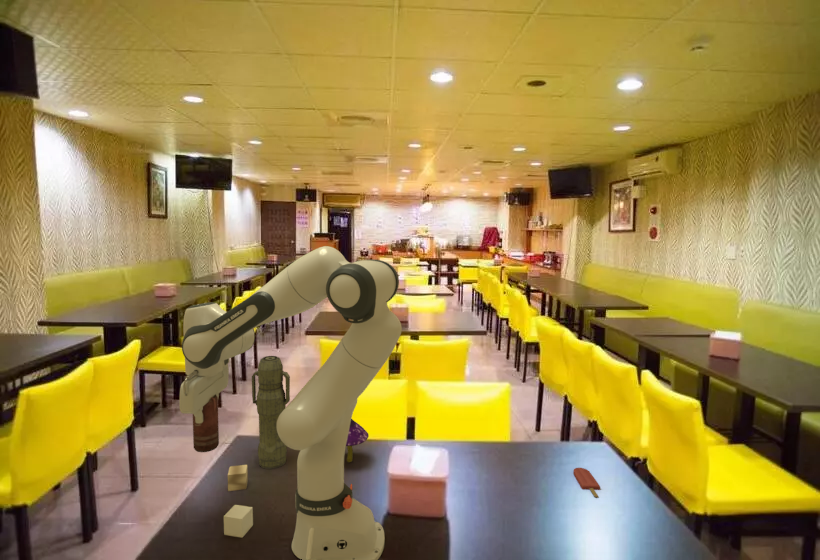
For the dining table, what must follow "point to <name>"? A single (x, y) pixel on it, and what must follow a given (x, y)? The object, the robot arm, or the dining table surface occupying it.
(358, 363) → the robot arm
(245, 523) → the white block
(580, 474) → the popsicle
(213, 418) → the can
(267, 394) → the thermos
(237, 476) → the maple block
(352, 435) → the decorative mushroom
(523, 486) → the dining table surface
